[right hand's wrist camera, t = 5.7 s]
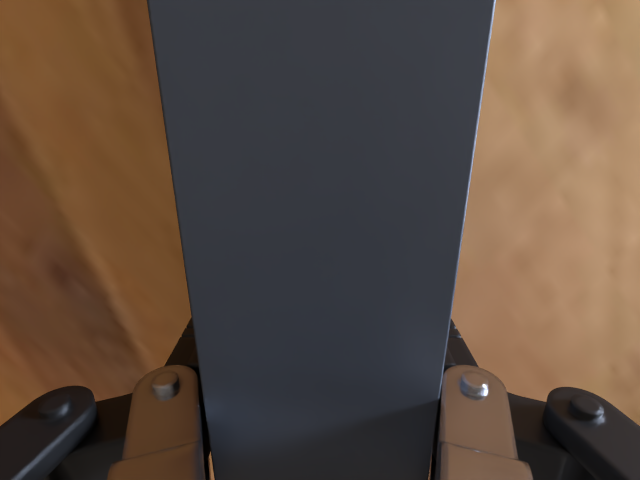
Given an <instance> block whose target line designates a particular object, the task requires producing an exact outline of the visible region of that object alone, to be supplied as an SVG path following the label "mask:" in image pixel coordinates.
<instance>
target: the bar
mask: <svg viewBox="0 0 640 480" xmlns="http://www.w3.org/2000/svg"><path fill="white" fill-rule="evenodd" d="M495 2H496V0H147V4H148V11H149V18H150V25H151V32H152V39H153V46H154V54H155V61H156V68H157V75H158V82H159V89H160V96H161V103H162V110H163V117H164V124H165V131H166V138H167V145H168V152H169V160H170V167H171V174H172V181H173V188H174V195H175V202H176V209H177V216H178V223H179V230H180V237H181V244H182V251H183V259H184V266H185V273H186V280H187V287H188V294H189V301H190V308H191V315H192V322H193V329H194V336H195V343H196V350H197V357H198V365H199V372H200V379H201V386H202V393H203V400H204V407H205V414H206V421H207V428H208V435H209V442H210V449H211V456H212V463H213V471H214V478H215V480H428V475H429V468H430V461H431V454H432V447H433V440H434V433H435V426H436V419H437V412H438V405H439V398H440V391H441V384H442V377H443V369H444V362H445V355H446V348H447V341H448V334H449V327H450V320H451V313H452V306H453V299H454V292H455V285H456V278H457V271H458V264H459V256H460V249H461V242H462V235H463V228H464V221H465V214H466V207H467V200H468V193H469V186H470V179H471V172H472V165H473V158H474V151H475V143H476V136H477V129H478V122H479V115H480V108H481V101H482V94H483V87H484V80H485V73H486V66H487V59H488V52H489V45H490V37H491V30H492V23H493V16H494V9H495Z"/></svg>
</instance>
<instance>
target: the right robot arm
mask: <svg viewBox="0 0 640 480" xmlns="http://www.w3.org/2000/svg"><path fill="white" fill-rule="evenodd" d="M210 451H211V449H210V442H209V435H208V428H207V421H206V414H205V407H204V400H203V393H202V386H201V379H200V372H199V365H198V357H197V350H196V343H195V336H194V329H193V322H192V318H191V319H190V321H189V323H188V325H187V328H185V330H184V332H183V334H182V337H180V339H179V341H178V343H177V344H176V346H175V348H174V350H173V352H172V353H171V355H170V357H169V359H168V361H167V362H166V364H165V366H164V367H161V368H158V369H156V370H153V371H151V372H150V373H148V374H146V375H145V376H144V377H142V378H141V379H140V380H139V381H138V383H137V384H136V386H135V387H134V390H133V393H130V394H127V395H124V396H119V397H115V398H111V399H106V400H102V401H98V402H95V399H94V395H93V393H92V391H91V390H90V389H88V388H86V387H83V386H67V387H62V388H59V389H55V390H53V391H50V392H48V393H46V394H44V395H42V396H40V397H38V398H37V399H35V400H34V401H32V402H31V403H30V404H28V405H27V406H26V407H25V408H23V409H22V410H21V411H19V412H18V413H17V414H15V415H14V416H13V417H12V418H10V419H9V420H8V421H6V422H5V423H4V424H3V425H1V426H0V480H211V472H210V461H209V454H210ZM429 480H640V426H639V425H637V424H636V423H635V422H634V421H632V420H631V419H630V418H628V417H627V416H626V415H625V414H623V413H622V412H621V411H619V410H618V409H617V408H615V407H614V406H613V405H612V404H610V403H609V402H607V401H606V400H605V399H603V398H601V397H599V396H597V395H595V394H593V393H591V392H588V391H585V390H582V389H578V388H573V387H560V388H556V389H554V390H552V391H551V392H550V393H549V395H548V398H547V402H543V401H538V400H534V399H530V398H525V397H521V396H517V395H514V394H511V393H508V392H507V390H506V387H505V386H504V384H503V383H502V381H501V380H500V379H499V378H498V377H496V376H495V375H494V374H492V373H490V372H489V371H487V370H484V369H482V368H479V367H478V365H477V363H476V361H475V360H474V358H473V356H472V354H471V353H470V351H469V349H468V347H467V346H466V344H465V342H464V340H463V339H462V338H461V335H460V333H459V331H458V330H457V329H456V326H455V324H454V323H453V321H452V319H451V320H450V327H449V334H448V341H447V348H446V355H445V362H444V369H443V377H442V384H441V391H440V398H439V405H438V412H437V419H436V426H435V433H434V440H433V447H432V454H431V461H430V472H429Z"/></svg>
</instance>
